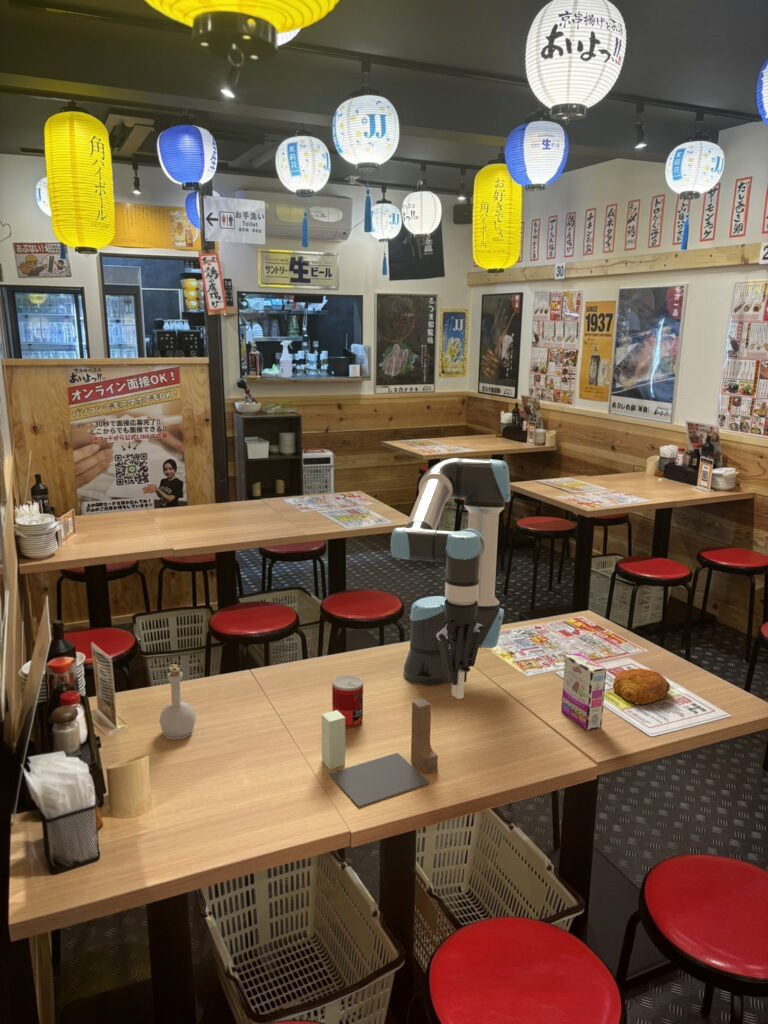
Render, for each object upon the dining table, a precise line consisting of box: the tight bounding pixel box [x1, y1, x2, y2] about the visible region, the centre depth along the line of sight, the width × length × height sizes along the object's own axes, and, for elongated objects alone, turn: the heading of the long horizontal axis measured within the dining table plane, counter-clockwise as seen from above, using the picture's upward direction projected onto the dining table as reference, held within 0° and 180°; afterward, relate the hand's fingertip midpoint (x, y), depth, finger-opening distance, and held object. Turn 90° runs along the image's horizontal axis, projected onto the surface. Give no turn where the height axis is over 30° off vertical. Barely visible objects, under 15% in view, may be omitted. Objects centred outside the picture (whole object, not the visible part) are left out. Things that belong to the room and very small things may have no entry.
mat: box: [328, 752, 431, 809], centre depth 164 cm, size 18×14×1 cm
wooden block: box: [410, 698, 439, 774], centre depth 169 cm, size 7×3×15 cm, turn 30°
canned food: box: [331, 675, 364, 729], centre depth 189 cm, size 8×8×11 cm
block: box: [321, 710, 346, 770], centre depth 169 cm, size 4×4×12 cm
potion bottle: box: [158, 663, 197, 741], centre depth 181 cm, size 9×9×18 cm
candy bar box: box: [560, 652, 607, 731], centre depth 190 cm, size 11×5×16 cm, turn 23°
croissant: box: [612, 668, 671, 705], centre depth 207 cm, size 14×16×8 cm
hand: (457, 696), depth 171 cm, fingers closed
